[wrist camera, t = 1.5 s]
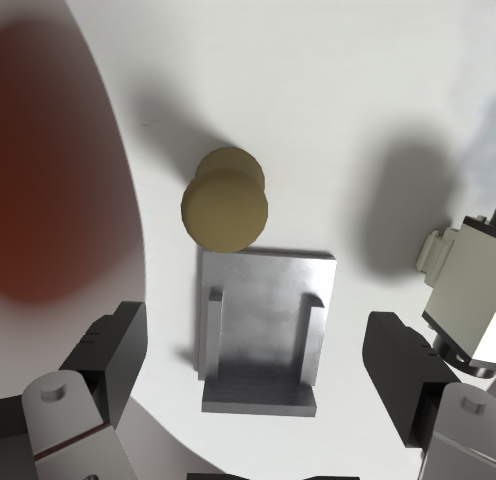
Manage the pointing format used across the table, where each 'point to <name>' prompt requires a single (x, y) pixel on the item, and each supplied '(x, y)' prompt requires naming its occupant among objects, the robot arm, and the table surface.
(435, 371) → the robot arm
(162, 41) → the table surface
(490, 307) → the pneumatic valve
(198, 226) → the cork
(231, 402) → the bracket
